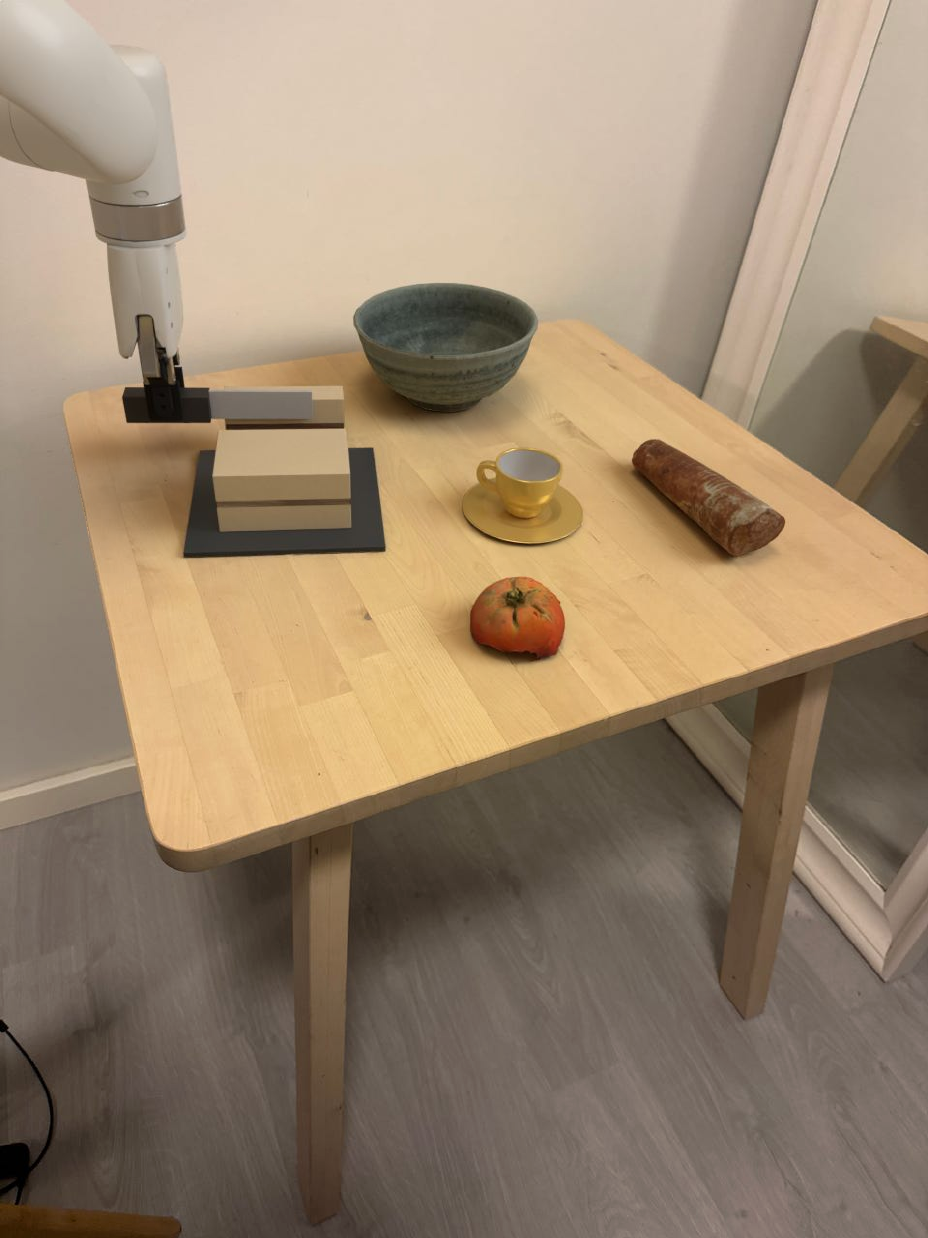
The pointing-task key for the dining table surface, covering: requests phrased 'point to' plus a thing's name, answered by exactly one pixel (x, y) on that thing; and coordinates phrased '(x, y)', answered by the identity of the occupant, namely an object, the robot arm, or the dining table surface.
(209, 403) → the knife
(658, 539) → the dining table surface
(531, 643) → the tomato
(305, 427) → the slice
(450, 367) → the bowl
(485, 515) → the cup
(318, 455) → the cake
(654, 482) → the salami
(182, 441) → the dining table surface
